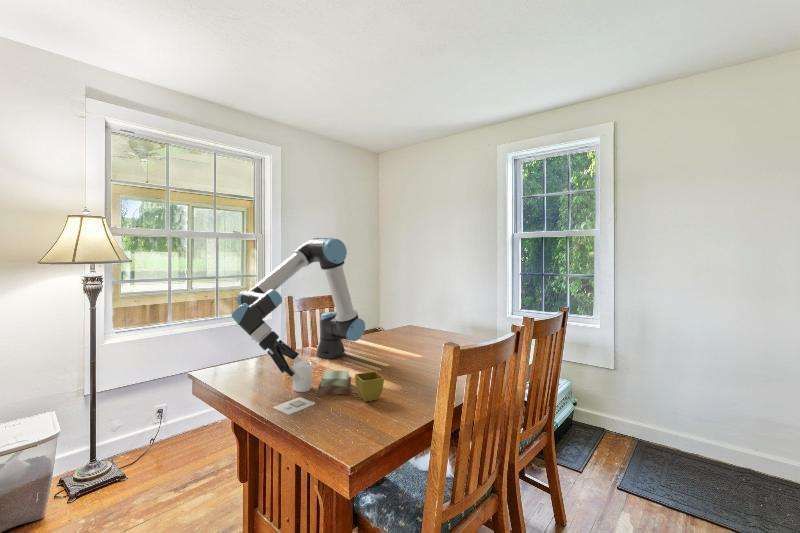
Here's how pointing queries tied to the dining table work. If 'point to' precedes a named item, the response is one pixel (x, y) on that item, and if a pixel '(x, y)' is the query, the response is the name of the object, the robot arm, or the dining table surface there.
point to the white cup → (303, 376)
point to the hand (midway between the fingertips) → (303, 374)
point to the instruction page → (293, 405)
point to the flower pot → (369, 385)
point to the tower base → (331, 389)
